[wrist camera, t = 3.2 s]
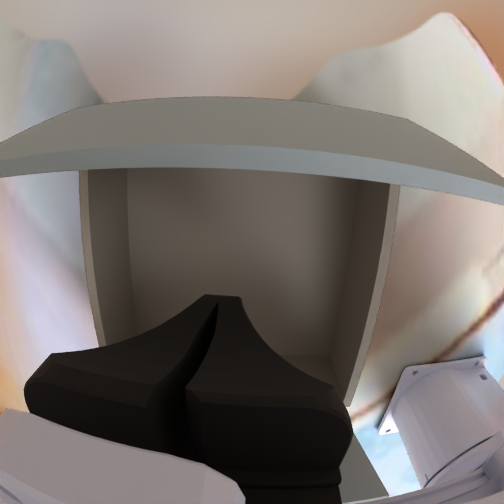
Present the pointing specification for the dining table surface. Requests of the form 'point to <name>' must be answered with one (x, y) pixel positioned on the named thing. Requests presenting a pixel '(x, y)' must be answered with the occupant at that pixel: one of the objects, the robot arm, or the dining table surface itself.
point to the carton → (242, 256)
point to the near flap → (250, 143)
